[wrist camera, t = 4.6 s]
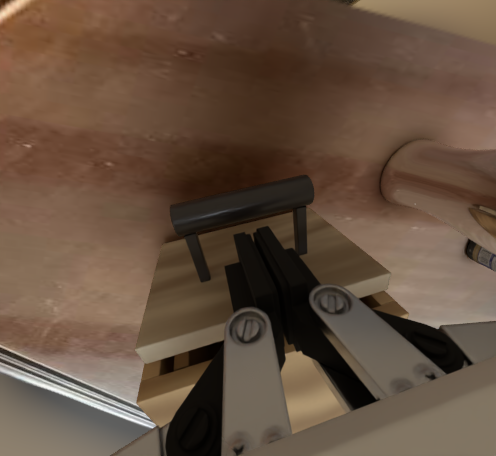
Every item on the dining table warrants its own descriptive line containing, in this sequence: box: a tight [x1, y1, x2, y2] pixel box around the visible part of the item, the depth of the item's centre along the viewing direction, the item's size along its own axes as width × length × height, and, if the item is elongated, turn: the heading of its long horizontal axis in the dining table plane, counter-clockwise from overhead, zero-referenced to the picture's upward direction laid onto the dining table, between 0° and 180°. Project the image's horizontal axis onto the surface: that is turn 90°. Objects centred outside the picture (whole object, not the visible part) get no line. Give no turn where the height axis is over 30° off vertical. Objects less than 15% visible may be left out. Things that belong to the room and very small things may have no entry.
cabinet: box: [136, 291, 409, 434], centre depth 19 cm, size 16×14×11 cm
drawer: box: [135, 175, 391, 371], centre depth 16 cm, size 19×13×9 cm, turn 9°
